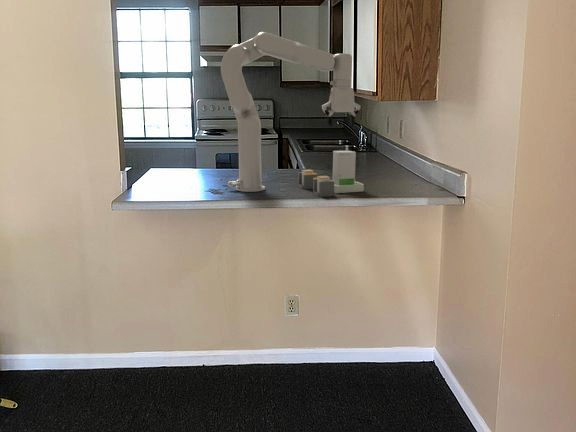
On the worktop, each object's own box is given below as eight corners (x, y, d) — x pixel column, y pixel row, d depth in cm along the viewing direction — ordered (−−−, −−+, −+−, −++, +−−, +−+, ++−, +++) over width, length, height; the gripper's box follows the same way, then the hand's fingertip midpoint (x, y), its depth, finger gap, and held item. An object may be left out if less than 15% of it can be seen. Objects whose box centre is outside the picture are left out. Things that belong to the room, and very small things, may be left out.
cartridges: (320, 195, 249) (320, 177, 247) (301, 186, 269) (301, 170, 267) (329, 195, 250) (330, 177, 248) (310, 186, 270) (310, 169, 269)
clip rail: (319, 196, 247) (319, 180, 245) (297, 186, 270) (297, 171, 269) (334, 195, 249) (335, 180, 247) (311, 185, 272) (311, 170, 271)
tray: (336, 193, 254) (336, 186, 254) (323, 187, 267) (323, 180, 266) (363, 191, 258) (363, 184, 258) (349, 185, 271) (350, 179, 270)
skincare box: (337, 189, 258) (338, 152, 255) (331, 186, 265) (332, 150, 261) (355, 188, 261) (356, 151, 258) (349, 185, 267) (350, 149, 264)
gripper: (326, 84, 248) (324, 126, 252) (365, 84, 253) (363, 126, 257) (319, 84, 255) (318, 125, 259) (357, 84, 260) (355, 125, 264)
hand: (340, 125), depth 258 cm, fingers open, 9 cm apart
